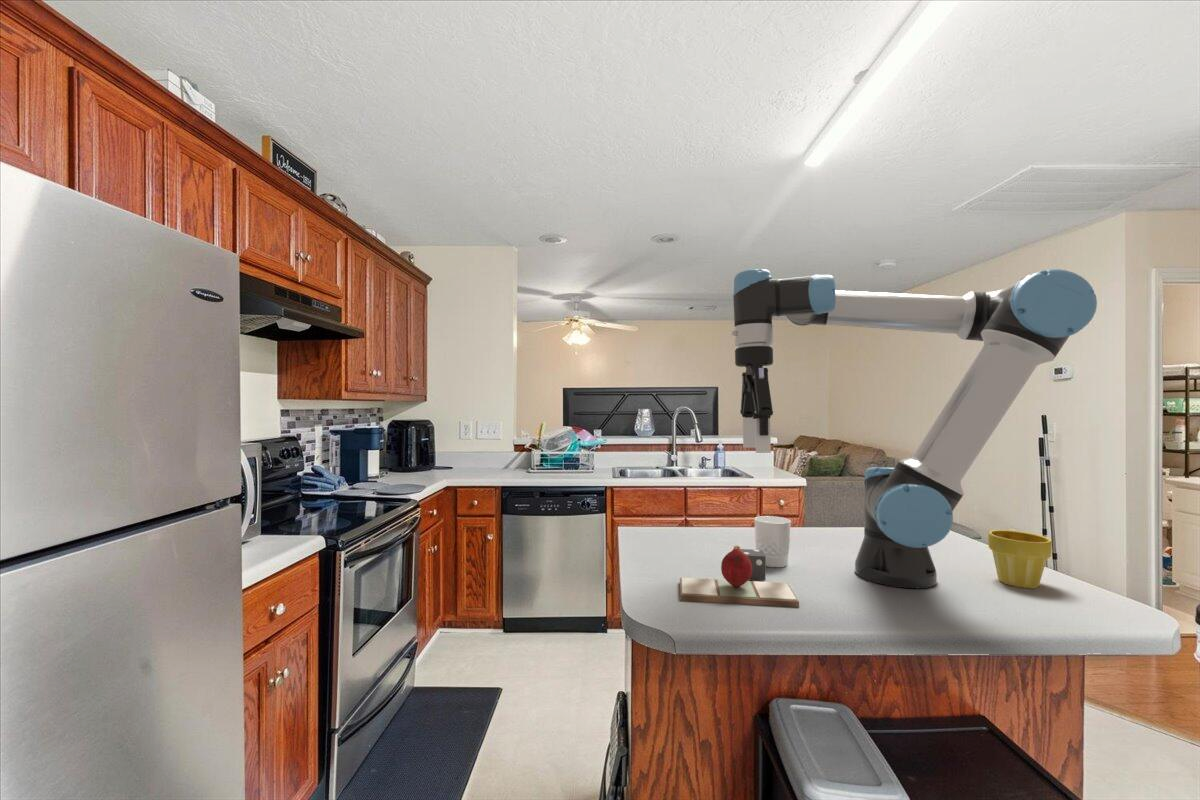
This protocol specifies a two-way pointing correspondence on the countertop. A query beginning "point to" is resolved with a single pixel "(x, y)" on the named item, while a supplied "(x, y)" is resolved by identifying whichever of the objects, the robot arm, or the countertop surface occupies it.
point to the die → (756, 563)
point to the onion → (736, 567)
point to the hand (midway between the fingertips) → (756, 450)
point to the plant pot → (1019, 556)
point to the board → (737, 592)
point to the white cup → (773, 539)
